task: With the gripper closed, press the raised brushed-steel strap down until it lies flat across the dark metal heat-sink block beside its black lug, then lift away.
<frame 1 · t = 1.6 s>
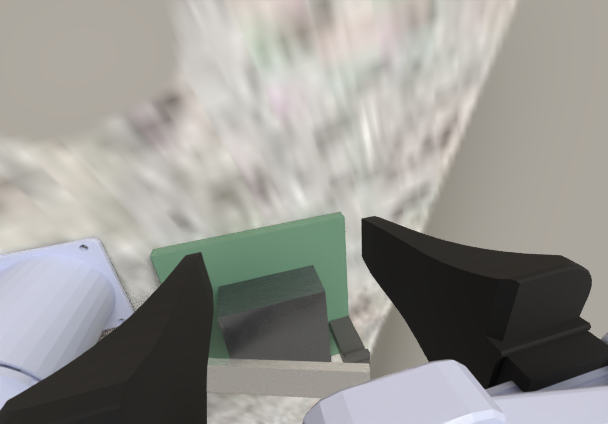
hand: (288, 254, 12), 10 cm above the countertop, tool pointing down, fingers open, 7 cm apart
retention strap: (271, 378, 20), point 7 cm above the countertop, hinge at 20.0°
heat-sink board: (272, 303, 27), on the countertop
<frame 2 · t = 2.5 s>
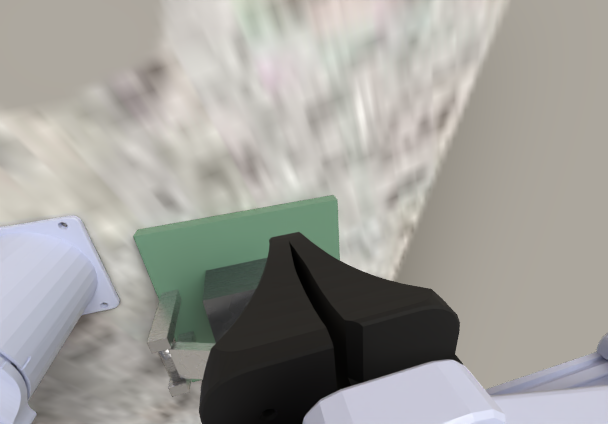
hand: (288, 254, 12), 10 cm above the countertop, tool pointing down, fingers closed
retention strap: (257, 364, 19), point 7 cm above the countertop, hinge at 20.0°
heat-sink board: (262, 290, 26), on the countertop
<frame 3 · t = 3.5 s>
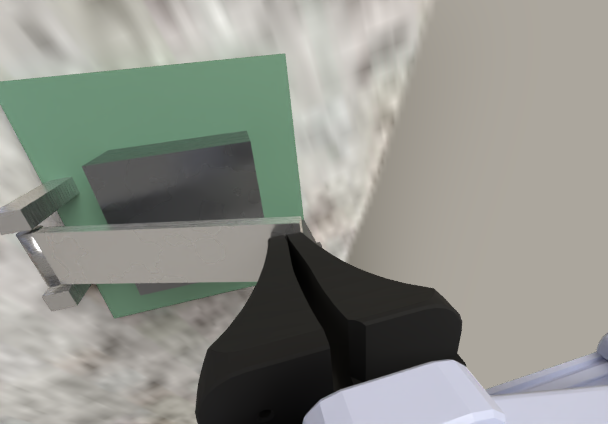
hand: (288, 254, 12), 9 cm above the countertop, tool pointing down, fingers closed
retention strap: (161, 253, 14), point 7 cm above the countertop, hinge at 19.3°, touching gripper
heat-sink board: (198, 194, 20), on the countertop
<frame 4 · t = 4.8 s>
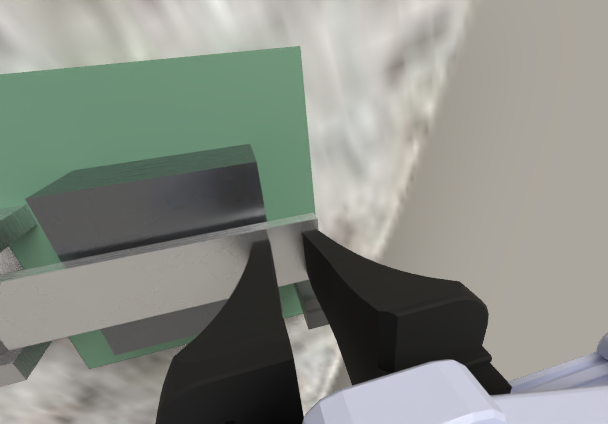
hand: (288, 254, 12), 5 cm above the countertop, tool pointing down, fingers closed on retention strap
retention strap: (158, 280, 12), point 5 cm above the countertop, hinge at 0.2°, touching gripper
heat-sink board: (191, 221, 16), on the countertop
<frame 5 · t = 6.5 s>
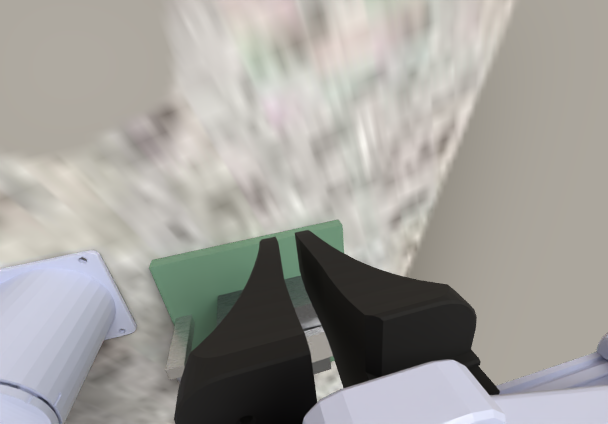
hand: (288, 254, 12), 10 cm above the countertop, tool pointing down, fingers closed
retention strap: (271, 358, 22), point 5 cm above the countertop, hinge at -1.2°
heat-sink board: (272, 310, 27), on the countertop
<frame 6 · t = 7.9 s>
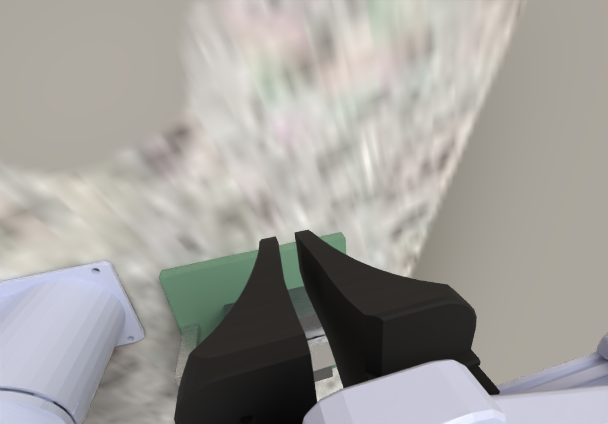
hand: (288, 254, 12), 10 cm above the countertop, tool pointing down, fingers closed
retention strap: (275, 366, 23), point 5 cm above the countertop, hinge at -1.2°
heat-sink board: (275, 318, 28), on the countertop
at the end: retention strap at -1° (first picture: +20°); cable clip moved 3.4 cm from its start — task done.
